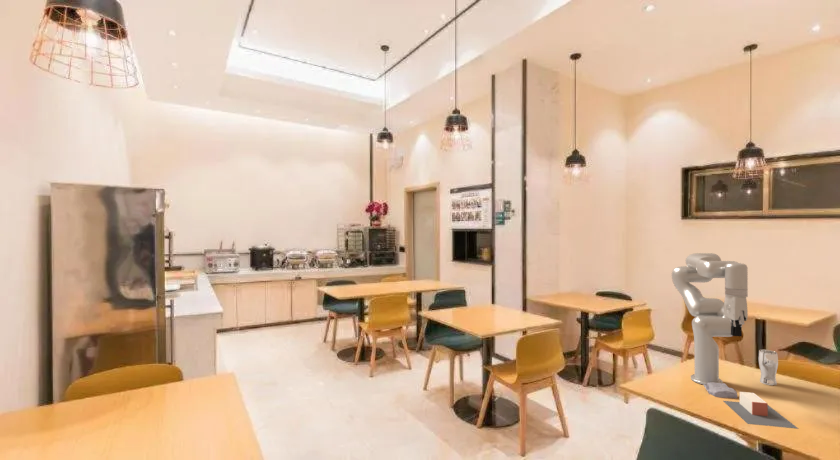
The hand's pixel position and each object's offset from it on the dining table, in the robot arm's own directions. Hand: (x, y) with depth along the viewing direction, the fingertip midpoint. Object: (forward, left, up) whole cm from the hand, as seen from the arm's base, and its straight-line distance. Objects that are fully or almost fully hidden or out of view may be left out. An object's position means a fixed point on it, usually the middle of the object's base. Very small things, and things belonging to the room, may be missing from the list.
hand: (736, 335), depth 168 cm
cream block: (+12, +3, -26) cm, 28 cm away
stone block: (-9, -3, -30) cm, 31 cm away
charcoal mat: (+10, +3, -29) cm, 31 cm away
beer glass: (-28, +25, -29) cm, 48 cm away
